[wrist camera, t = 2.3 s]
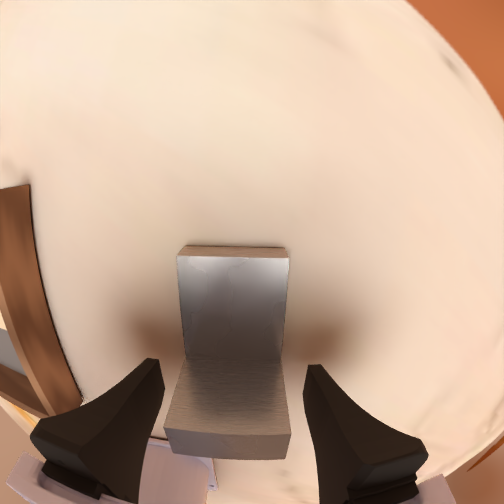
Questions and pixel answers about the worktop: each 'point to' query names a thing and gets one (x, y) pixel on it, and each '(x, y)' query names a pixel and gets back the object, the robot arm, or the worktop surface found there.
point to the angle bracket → (231, 355)
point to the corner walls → (29, 318)
